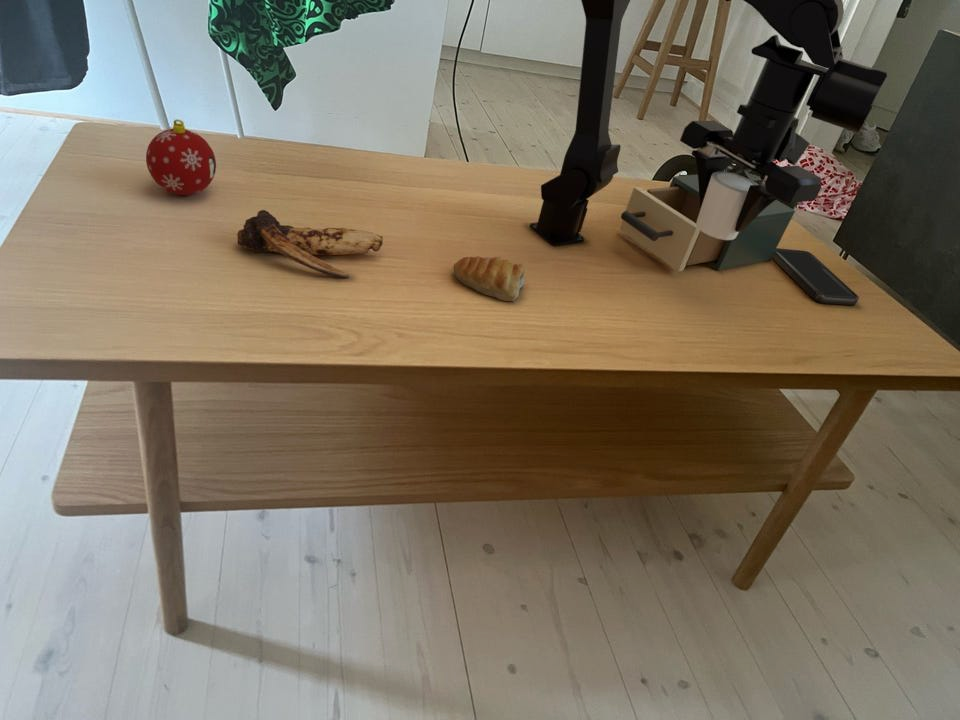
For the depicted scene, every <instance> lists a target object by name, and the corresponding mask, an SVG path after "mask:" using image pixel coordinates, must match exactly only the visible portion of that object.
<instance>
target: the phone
mask: <svg viewBox="0 0 960 720" xmlns="http://www.w3.org/2000/svg"><path fill="white" fill-rule="evenodd" d="M771 259H772V260H774V262H775V263H777V265H779V267H781V269H782V270H783V271H784V272H786V274H788V275H789V276H790V277H791V279H793V281H794V282H795V283H797V285H798V286H800V287H801V289H802V290H803V291H804V292H805V293H806V294H807V295H808V296H809V297H810V298H812V300H814V301H815V302H817V303H820V304H829V305H843V306H844V305H845V306H855V305H857V303H858V301H859V300H860V296H859V295H858V294H857V293H856V292H855V291H854V290H852V289H851V288H850V287H849V286H848V285H847V284H846V283H845V282H844V281H842V279H841V278H840V277H838V276H837V275H836V274H835V273H834V272H833V271H831V270H830V268H829V267H827V266H826V265H825V264H824V262H822V261H821V260H819V258H818V257H816V256H815V255H814V254H813V253H812V252H810V251H806V250H800V249H790V248H781V247H779V248H778V247H777V248H776V250H775V252H774V254H773V256H772V258H771Z"/></svg>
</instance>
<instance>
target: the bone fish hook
mask: <svg viewBox="0 0 960 720" xmlns="http://www.w3.org/2000/svg"><path fill="white" fill-rule="evenodd" d="M236 237H237V238H236V239H237V245H239V246H241V247H245V248H247V249H250V250H251V251H253V252H254V253H255V254H256V253H270V252H274V253H277V254H282V255H283V256H285V257H286V258H288V259H289V260H292V261H294V262H295V263H297V264H299V265H302V266H305V267H306V268H309V269H311V270H313V271H315V272H318V273H321V274H323V275H326V276H330V277H333V278H339V279H348V278H350V274H349V273H348V272H347V273H346V272H345V271H342V270H340V269H338V268H336V267H335V266H332V265H331V264H329V263H327V262H325V261H323V260H321V259H320V258H317V257H316V256H315V255H317V256H341V255H342V256H343V255H353V254H367V253H369V251H370V250H372V251H373V252H376V253H377V252H379V251H380V250H381V247H382V245H383V242H384V241H383V240H384V239H383V236H382V235H380V234H379V233H375V232H372V231H368V230H362V229H361V230H360V229H352V228H345V227H326V228H312V227H294V226H293V225H290V224H289V225H288V224H287V225H283V224H281V223H280V221H279V220H277V218H276V217H275V216H274V215H273V214H271V213H270V212H269V211H268V210H266V209H261V210H259V211H257V214H256V216H252V217H250V218H248V219H246V220H245V222H244V225H243V228H242V229H240V230H238V231H237V233H236Z"/></svg>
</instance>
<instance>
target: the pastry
mask: <svg viewBox="0 0 960 720" xmlns="http://www.w3.org/2000/svg"><path fill="white" fill-rule="evenodd" d="M452 268H453V274H454V276H455V278H456V279H457V280H458V281H459V282H460V283H461V284H464V286H466V287H470V288H472V290H473V291H476V292H478V293H481V294H483V295H485V296H486V295H487V296H488V297H494V298H497V299H498V300H500V301H505V302H514V301H515V300H516V299H518V297H519V293H520V289H521V288H522V287H523V286H524V283H525V279H526V278H525V274H526V267H525V265H524V264H523V263H522V262H521V263H516V262H513V261H510V260H508V259H504V258H502V257H501V256H494V257H488V256H487V257H481V256H479V255H478V256H469V257H468V256H467V257H466V256H465V257H462V258H460V259H459V260H457V261H456V262H454V264H453V266H452ZM497 299H496V300H497Z"/></svg>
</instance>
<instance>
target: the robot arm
mask: <svg viewBox="0 0 960 720" xmlns="http://www.w3.org/2000/svg"><path fill="white" fill-rule="evenodd" d="M742 1H744V2H745V3H747V4H749V5H750V6H751V7H752V8H753V9H755V10H756V11H757V12H758V13H759V14H760V16H761V17H762V18H763V19H764V20H765V22H766V23H767V25H769V26H770V27H771V28H772V29H773V30H774V31H775V32H776V33H778V34H779V35H780V37H782V38H783V39H784V40H785V41H786V42H787V43H789V44H790V45H791V46H793V47H796V48H793V47H790V46H787V45H784V44H782V43H781V41H780V39H779V36H778V34H773V35H771V36H770V37H769V38H768V39H767V40H766V41H764V42H763V43H760V44H758V45H756V46H753V48H751V50H750V51H751V54H752V55H754V56H757V57H760V58H763V59H766V60H765V62H764V64H763V66H762V68H761V71H760V73H759V76H758V78H757V81H756V82H755V85H754V87H753V89H752V92H751V94H750V96H749V98H748V101H747V103H746V104H739V106H738V108H737V111H736V114H738V115H740V116H741V117H740V120H739V121H738V124H737V126H736V128H735V131H734V132H733V130H732V129H731V128H729V127H727V126H725V125H723V124H721V123H719V122H718V121H716V120H691V121H690V122H689V123H688V124H686V126H684V128H683V130H682V133H681V136H680V138H679V141H680V142H681V143H683V145H684V144H685V145H686V146H688V147H689V148H691V149H692V151H691V156H692V157H694V159H695V160H694V161H695V166H696V172H697V173H696V175H697V174H698V183H699V199H700V208H701V206H702V203H703V200H704V197H705V194H706V191H707V188H708V185H709V182H710V179H711V176H712V174H713V173H714V172H718V171H719V172H726V170H727V169H728V168H729V166H730V165H732V163H733V162H734V161H736V162H737V163H739V164H741V165H742V166H744V167H746V168H748V169H749V170H751V171H753V172H755V173H756V174H757V175H760V176H762V177H764V178H763V180H762V182H761V184H758V185H750V187H749V190H748V193H747V195H746V198H745V201H744V203H743V206H742V209H741V212H740V214H739V217H738V220H737V223H736V228H735V231H736V232H741V231H743V230H744V229H745V228H746V227H747V226H748V225H749V224H750V223H751V222H752V221H753V220H754V219H755V218H756V217H757V216H758V215H759V214H760V213H761V212H762V211H763V210H764V209H765V208H766V207H767V206H769V205H770V204H771V203H772V202H774V201H775V200H777V201H778V200H780V201H782V202H785V203H787V204H794V203H795V204H796V203H804V202H813V201H816V199H817V197H818V195H819V194H820V191H821V190H822V179H821V178H822V177H820V176H819V175H817V174H815V173H814V172H811V171H810V170H807V169H805V168H803V167H802V166H800V165H796V164H797V163H798V162H799V160H800V159H801V157H802V156H803V154H804V153H805V151H806V150H807V149H808V148H809V146H810V145H811V143H810V142H809V141H807V140H806V139H805V138H804V137H803V136H802V135H800V134H799V133H797V132H796V131H797V128H798V126H799V121H800V118H797V117H796V115H797V112H798V109H799V108H800V106H801V103H802V102H803V99H804V97H805V95H806V93H807V92H808V89H809V87H810V85H811V83H812V80H813V78H814V76H818V78H817V80H816V82H815V85H814V86H813V87H812V91H811V92H810V94H809V97H808V99H807V101H806V104H805V105H806V106H807V107H809V108H808V110H809V111H812V112H811V115H810V118H813V119H816V120H818V121H821V122H824V123H827V124H829V125H833V126H835V127H839V128H842V129H845V130H846V131H847V130H848V131H851V132H854V133H856V134H859V132H860V131H861V128H862V127H863V125H864V123H865V121H866V119H867V118H868V116H869V114H870V112H871V110H872V109H873V107H874V105H875V103H876V101H877V98H876V97H877V96H878V94H879V91H880V90H881V88H882V87H883V84H884V82H885V81H886V79H887V77H888V75H889V71H888V70H886V69H883V68H880V67H871V66H866V65H863V64H860V63H857V62H853V61H851V60H848V59H845V58H844V56H843V55H844V54H843V47H842V44H841V39H840V34H839V27H840V25H841V24H842V21H843V19H844V13H845V8H844V2H843V0H742ZM580 2H581V6H582V9H583V12H584V17H585V29H584V38H583V47H582V58H581V69H580V79H579V89H578V100H577V109H576V120H575V131H574V134H573V135H572V139H571V140H570V143H569V145H568V147H567V150H566V152H565V154H564V158H563V161H562V164H561V165H562V166H561V169H560V174H558V175H557V176H555V177H553V178H552V179H549V180H548V181H546V182H544V183H542V184H540V195H541V200H542V205H541V208H540V211H539V215H538V219H537V221H536V222H530V223H529V229H532V230H533V231H534V232H535V233H536V234H537V235H539V236H540V237H541V238H543V240H545V241H546V242H547V243H548V244H550V245H551V246H554V247H556V246H557V247H558V246H564V245H570V244H577V243H584V242H585V239H586V238H585V237H584V236H583V235H582V234H581V232H582V228H583V225H584V223H585V220H586V215H587V212H588V205H589V198H591V197H592V196H594V195H595V194H597V193H598V192H599V191H601V190H603V189H604V188H605V187H607V186H608V185H609V184H610V183H611V182H612V180H613V178H614V176H615V175H616V174H618V173H619V167H618V160H619V155H620V153H621V147H622V146H621V144H619V143H618V144H613V143H612V140H611V137H610V133H609V132H610V131H609V127H610V126H609V125H610V118H611V111H612V103H613V95H614V85H615V78H616V68H617V61H618V52H619V44H620V37H621V29H622V21H623V18H624V16H625V14H626V11H627V9H628V7H629V4H630V2H631V0H580ZM797 48H801V49H803V50H804V51H803V50H799V49H797ZM804 52H805V54H806V55H807V56H808V58H809V60H810V61H811V62H809V61H806V60H804V59H803V55H804ZM775 160H776V161H777V162H785V161H786V162H787V163H788V164H790V165H786V166H780V165H779V164H776V163H775V162H774V161H775Z"/></svg>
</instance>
